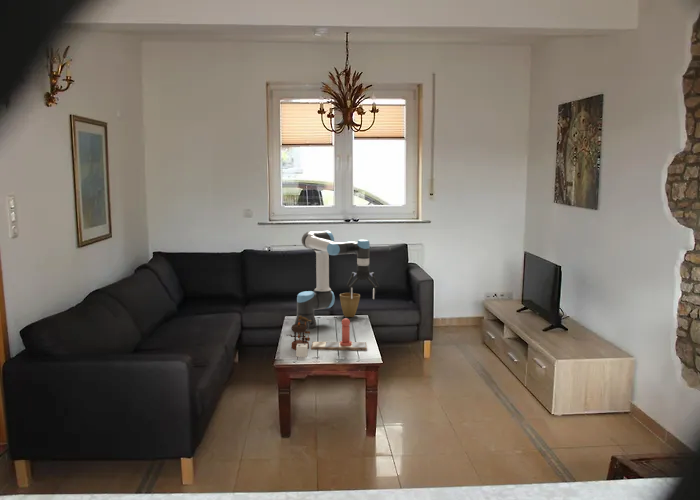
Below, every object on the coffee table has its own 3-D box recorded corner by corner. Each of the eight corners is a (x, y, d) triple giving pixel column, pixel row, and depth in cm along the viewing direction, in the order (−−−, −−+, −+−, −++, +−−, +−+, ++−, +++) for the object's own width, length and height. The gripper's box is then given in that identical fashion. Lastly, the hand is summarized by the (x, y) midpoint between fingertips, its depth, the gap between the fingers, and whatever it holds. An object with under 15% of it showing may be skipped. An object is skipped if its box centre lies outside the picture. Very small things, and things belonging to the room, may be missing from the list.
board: (311, 349, 352) (311, 347, 352) (312, 343, 364) (312, 341, 364) (366, 350, 352) (366, 347, 352) (366, 344, 364) (366, 341, 364)
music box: (311, 344, 362) (311, 313, 357) (311, 351, 351) (312, 319, 347) (286, 345, 360) (286, 313, 356) (285, 352, 350) (285, 319, 345)
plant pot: (353, 319, 424) (354, 297, 422) (335, 316, 431) (336, 295, 429) (363, 315, 437) (363, 293, 435) (345, 312, 444) (345, 291, 442)
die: (296, 356, 338) (296, 346, 337) (297, 353, 344) (297, 343, 343) (306, 356, 338) (306, 346, 337) (307, 353, 344) (307, 343, 343)
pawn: (339, 346, 354) (339, 319, 352) (340, 342, 361) (340, 316, 359) (351, 346, 354) (351, 319, 352) (351, 342, 361) (351, 316, 359)
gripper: (342, 265, 363) (342, 299, 366) (383, 266, 363) (382, 300, 366) (343, 263, 370) (342, 297, 373) (383, 264, 370) (382, 297, 373)
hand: (362, 298), depth 369 cm, fingers open, 13 cm apart
